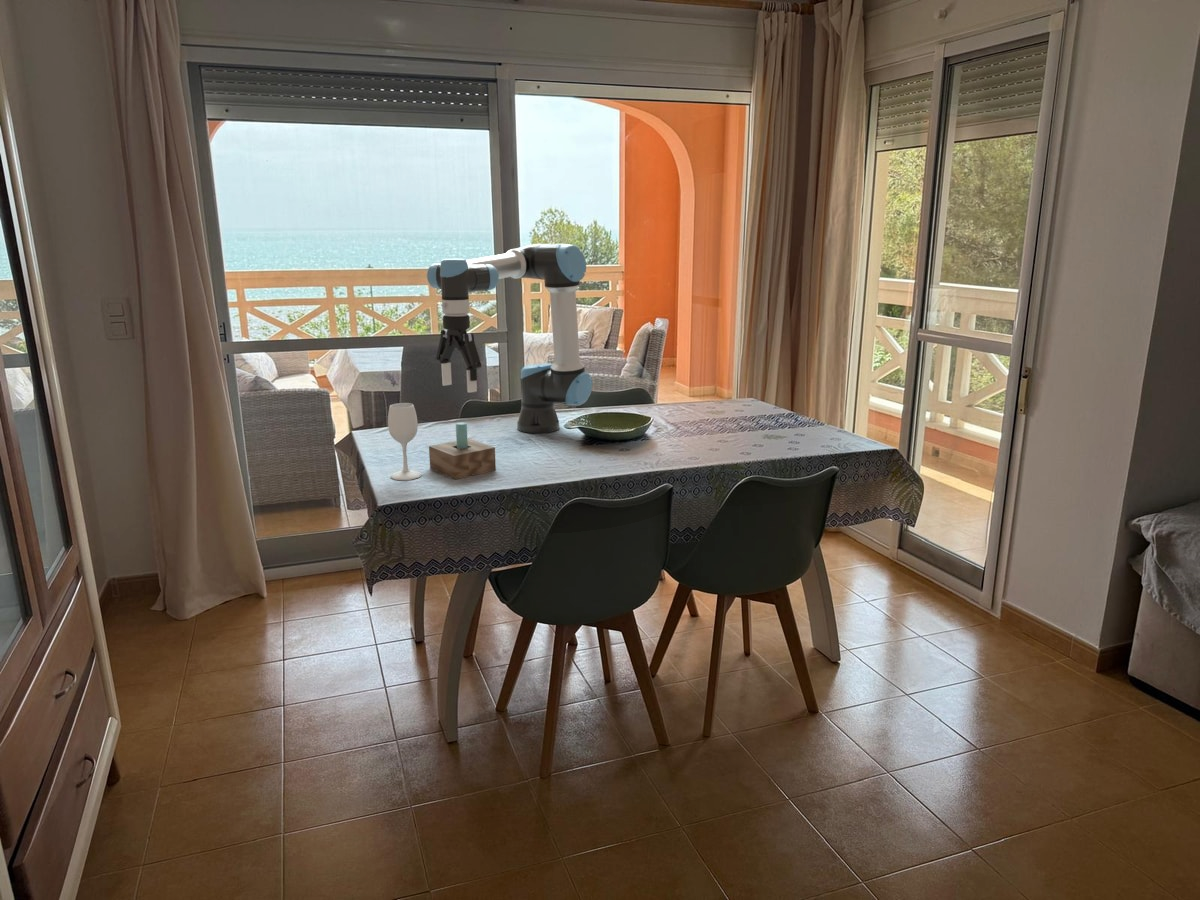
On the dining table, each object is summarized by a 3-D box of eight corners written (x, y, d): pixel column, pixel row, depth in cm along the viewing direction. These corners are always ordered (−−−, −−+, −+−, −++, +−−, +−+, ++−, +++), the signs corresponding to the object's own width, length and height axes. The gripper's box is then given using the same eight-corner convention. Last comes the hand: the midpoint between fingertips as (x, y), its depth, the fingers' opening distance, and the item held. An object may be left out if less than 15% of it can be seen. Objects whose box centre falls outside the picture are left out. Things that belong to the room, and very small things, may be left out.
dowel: (464, 460, 240) (462, 422, 237) (470, 463, 238) (468, 424, 235) (455, 463, 238) (453, 423, 235) (461, 465, 236) (459, 426, 233)
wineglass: (423, 471, 237) (419, 402, 231) (418, 480, 228) (414, 408, 223) (394, 471, 236) (389, 402, 231) (387, 480, 228) (382, 408, 222)
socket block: (470, 460, 248) (469, 438, 246) (495, 470, 238) (494, 447, 236) (430, 468, 239) (428, 446, 238) (455, 479, 229) (453, 455, 227)
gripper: (422, 312, 233) (426, 383, 239) (468, 319, 215) (471, 396, 221) (444, 310, 238) (448, 380, 244) (492, 317, 220) (494, 393, 226)
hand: (459, 388), depth 232 cm, fingers open, 13 cm apart
